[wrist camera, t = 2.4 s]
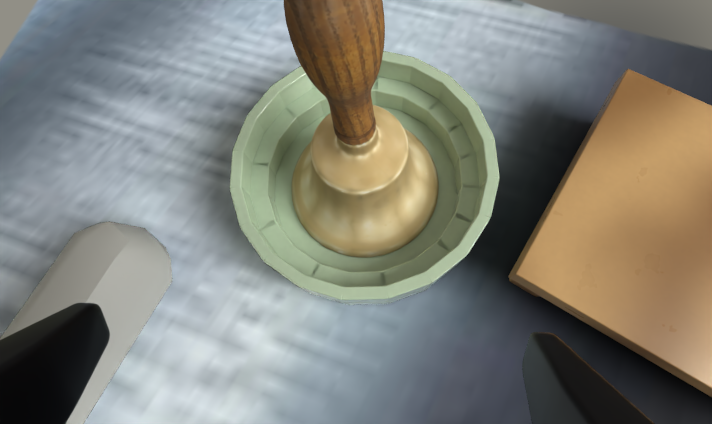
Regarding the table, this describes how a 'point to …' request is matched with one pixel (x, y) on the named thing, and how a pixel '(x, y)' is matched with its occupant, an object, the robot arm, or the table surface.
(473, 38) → the table surface
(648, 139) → the footstool
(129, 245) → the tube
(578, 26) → the table surface
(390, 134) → the hand bell
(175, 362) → the table surface
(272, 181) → the bowl
